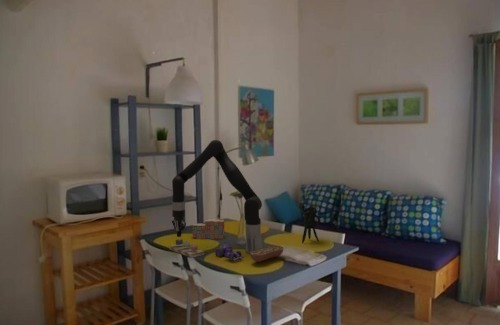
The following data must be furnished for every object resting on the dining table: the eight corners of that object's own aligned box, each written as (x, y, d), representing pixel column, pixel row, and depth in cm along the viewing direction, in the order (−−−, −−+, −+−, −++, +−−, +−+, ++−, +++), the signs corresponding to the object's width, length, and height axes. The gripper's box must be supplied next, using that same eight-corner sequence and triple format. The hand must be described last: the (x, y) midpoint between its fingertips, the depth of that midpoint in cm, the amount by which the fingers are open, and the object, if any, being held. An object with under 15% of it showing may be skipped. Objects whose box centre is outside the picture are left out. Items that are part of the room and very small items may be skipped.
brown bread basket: (258, 265, 218) (258, 256, 217) (245, 261, 225) (245, 252, 225) (286, 256, 233) (286, 247, 233) (274, 252, 240) (274, 244, 240)
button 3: (184, 243, 249) (184, 239, 249) (178, 245, 246) (178, 241, 246) (180, 242, 252) (180, 238, 252) (174, 243, 249) (174, 239, 249)
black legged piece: (310, 238, 273) (310, 201, 271) (325, 240, 265) (325, 203, 264) (293, 243, 259) (293, 205, 257) (308, 247, 251) (308, 207, 250)
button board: (204, 254, 237) (204, 251, 237) (191, 257, 231) (191, 254, 231) (182, 246, 255) (181, 243, 255) (169, 249, 249) (169, 246, 249)
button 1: (199, 249, 237) (199, 244, 237) (193, 250, 234) (192, 246, 234) (195, 247, 240) (194, 243, 240) (188, 249, 237) (188, 244, 237)
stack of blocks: (192, 238, 276) (192, 221, 275) (194, 236, 282) (194, 219, 281) (223, 239, 274) (222, 221, 273) (224, 236, 280) (224, 219, 279)
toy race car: (233, 261, 224) (233, 250, 224) (215, 256, 234) (215, 245, 234) (245, 257, 231) (245, 246, 231) (226, 253, 241) (226, 242, 241)
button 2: (191, 246, 243) (191, 242, 243) (185, 247, 240) (185, 243, 240) (187, 245, 246) (187, 240, 246) (181, 246, 243) (181, 242, 243)
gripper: (189, 209, 245) (190, 237, 246) (177, 206, 255) (178, 233, 256) (179, 211, 240) (179, 239, 241) (167, 208, 250) (168, 235, 251)
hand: (179, 236), depth 249 cm, fingers closed
